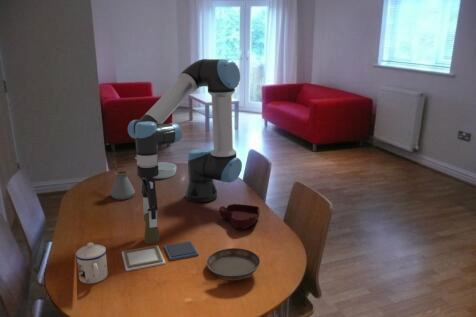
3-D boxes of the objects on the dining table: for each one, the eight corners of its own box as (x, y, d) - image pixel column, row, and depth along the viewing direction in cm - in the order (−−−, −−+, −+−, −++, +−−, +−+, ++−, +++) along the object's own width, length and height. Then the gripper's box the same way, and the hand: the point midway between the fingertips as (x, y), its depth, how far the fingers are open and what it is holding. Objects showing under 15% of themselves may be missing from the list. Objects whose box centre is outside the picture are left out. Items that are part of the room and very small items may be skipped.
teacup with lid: (76, 273, 133) (72, 240, 130) (105, 266, 137) (102, 234, 134) (82, 292, 123) (78, 257, 120) (113, 284, 127) (110, 250, 124)
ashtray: (270, 224, 170) (271, 213, 169) (237, 233, 162) (237, 221, 161) (248, 210, 185) (248, 199, 183) (215, 217, 177) (215, 206, 175)
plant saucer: (218, 288, 125) (217, 280, 124) (199, 261, 141) (199, 253, 140) (269, 276, 132) (269, 267, 131) (246, 251, 147) (246, 244, 147)
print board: (158, 246, 150) (158, 244, 150) (165, 263, 139) (165, 260, 138) (121, 253, 146) (121, 250, 146) (125, 271, 134) (125, 268, 134)
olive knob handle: (156, 244, 152) (155, 216, 150) (141, 242, 154) (139, 215, 151) (162, 237, 158) (161, 210, 155) (148, 235, 159) (146, 209, 156)
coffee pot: (138, 199, 197) (136, 169, 193) (113, 204, 192) (111, 173, 188) (126, 186, 215) (124, 159, 211) (104, 190, 210) (101, 162, 206)
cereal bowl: (150, 185, 218) (149, 172, 216) (142, 176, 232) (141, 164, 230) (181, 180, 225) (180, 168, 224) (171, 172, 240) (170, 160, 238)
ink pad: (191, 243, 153) (191, 240, 153) (198, 255, 144) (198, 252, 144) (164, 247, 150) (164, 244, 149) (170, 260, 141) (170, 257, 140)
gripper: (132, 157, 158) (135, 209, 163) (142, 175, 136) (145, 234, 141) (152, 156, 161) (154, 207, 166) (165, 173, 138) (167, 231, 143)
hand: (150, 219), depth 153 cm, fingers open, 13 cm apart
